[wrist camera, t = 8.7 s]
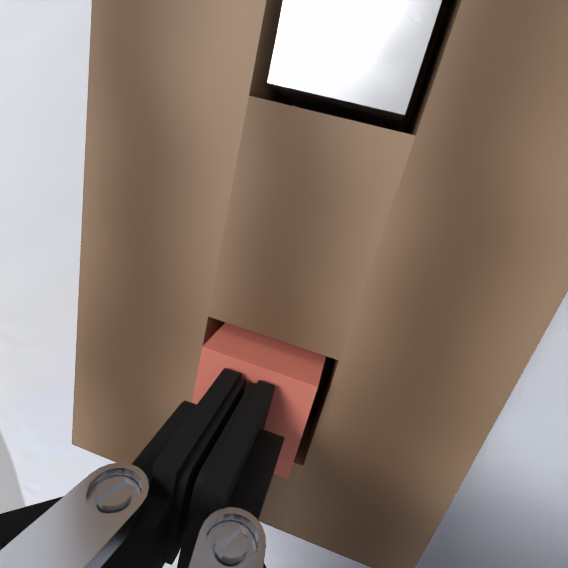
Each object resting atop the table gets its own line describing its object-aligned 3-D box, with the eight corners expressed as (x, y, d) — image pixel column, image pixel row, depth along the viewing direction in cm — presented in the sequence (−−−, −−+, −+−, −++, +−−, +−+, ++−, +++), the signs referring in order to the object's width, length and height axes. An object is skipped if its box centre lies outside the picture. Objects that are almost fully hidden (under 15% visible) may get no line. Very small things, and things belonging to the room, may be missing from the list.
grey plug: (432, 16, 12) (463, -68, 8) (395, 131, 13) (404, 114, 9) (327, -4, 13) (301, -93, 8) (300, 109, 14) (267, 82, 10)
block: (641, -75, 11) (898, -310, 6) (397, 459, 19) (406, 582, 13) (220, -137, 13) (108, -357, 8) (152, 370, 21) (71, 443, 15)
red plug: (334, 322, 15) (318, 386, 11) (311, 394, 16) (288, 478, 12) (251, 295, 15) (202, 346, 11) (235, 367, 17) (185, 438, 12)
